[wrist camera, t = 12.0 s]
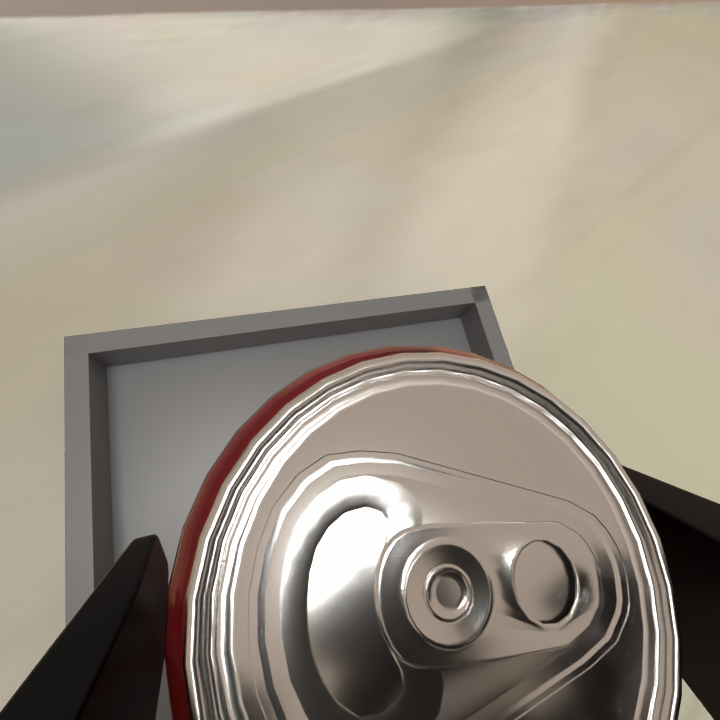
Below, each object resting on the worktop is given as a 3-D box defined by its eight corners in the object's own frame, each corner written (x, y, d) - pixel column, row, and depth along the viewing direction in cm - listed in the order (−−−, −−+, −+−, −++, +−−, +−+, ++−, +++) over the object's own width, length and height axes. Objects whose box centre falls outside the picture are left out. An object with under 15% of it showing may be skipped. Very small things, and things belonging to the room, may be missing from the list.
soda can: (234, 638, 14) (70, 1103, 3) (255, 435, 17) (199, 308, 6) (427, 630, 16) (785, 954, 4) (420, 442, 18) (641, 347, 7)
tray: (590, 698, 17) (639, 730, 14) (108, 902, 12) (67, 995, 10) (463, 308, 22) (484, 285, 19) (93, 358, 18) (64, 336, 15)
